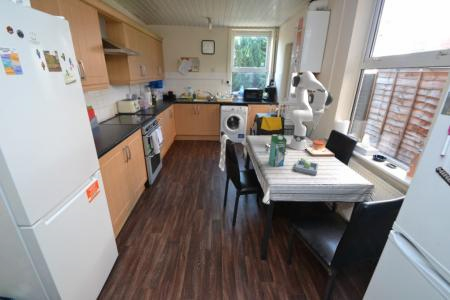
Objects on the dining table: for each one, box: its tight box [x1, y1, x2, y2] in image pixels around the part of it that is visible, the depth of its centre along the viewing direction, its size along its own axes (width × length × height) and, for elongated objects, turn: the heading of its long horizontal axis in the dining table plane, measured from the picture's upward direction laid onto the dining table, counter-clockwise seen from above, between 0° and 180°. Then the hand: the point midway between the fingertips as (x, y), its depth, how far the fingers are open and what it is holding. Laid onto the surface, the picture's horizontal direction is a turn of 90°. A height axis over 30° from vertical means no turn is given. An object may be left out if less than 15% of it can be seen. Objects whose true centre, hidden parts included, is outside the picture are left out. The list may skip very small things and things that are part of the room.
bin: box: [294, 159, 319, 176], centre depth 165 cm, size 16×16×4 cm
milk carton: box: [268, 133, 288, 168], centre depth 169 cm, size 9×9×25 cm
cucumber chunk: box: [304, 161, 311, 169], centre depth 165 cm, size 4×4×5 cm
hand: (314, 127), depth 167 cm, fingers open, 8 cm apart
